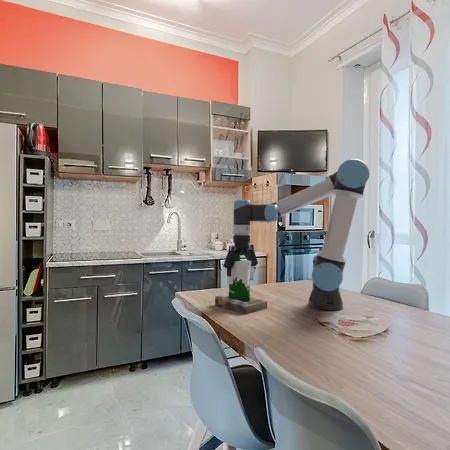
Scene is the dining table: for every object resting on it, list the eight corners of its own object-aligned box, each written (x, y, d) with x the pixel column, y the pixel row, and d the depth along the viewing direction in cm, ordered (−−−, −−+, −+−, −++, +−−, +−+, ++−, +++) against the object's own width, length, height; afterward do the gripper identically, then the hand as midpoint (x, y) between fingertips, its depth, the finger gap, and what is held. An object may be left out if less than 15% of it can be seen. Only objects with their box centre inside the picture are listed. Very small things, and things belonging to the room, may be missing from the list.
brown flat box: (267, 308, 145) (267, 298, 145) (244, 314, 135) (244, 303, 135) (236, 300, 159) (236, 291, 159) (214, 305, 149) (214, 295, 149)
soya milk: (225, 299, 148) (226, 255, 148) (242, 297, 153) (243, 254, 152) (235, 303, 141) (236, 257, 140) (253, 301, 145) (253, 256, 144)
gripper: (227, 235, 136) (227, 286, 136) (265, 234, 153) (265, 279, 153) (215, 234, 141) (214, 284, 141) (253, 233, 158) (253, 277, 159)
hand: (241, 281), depth 147 cm, fingers open, 13 cm apart
